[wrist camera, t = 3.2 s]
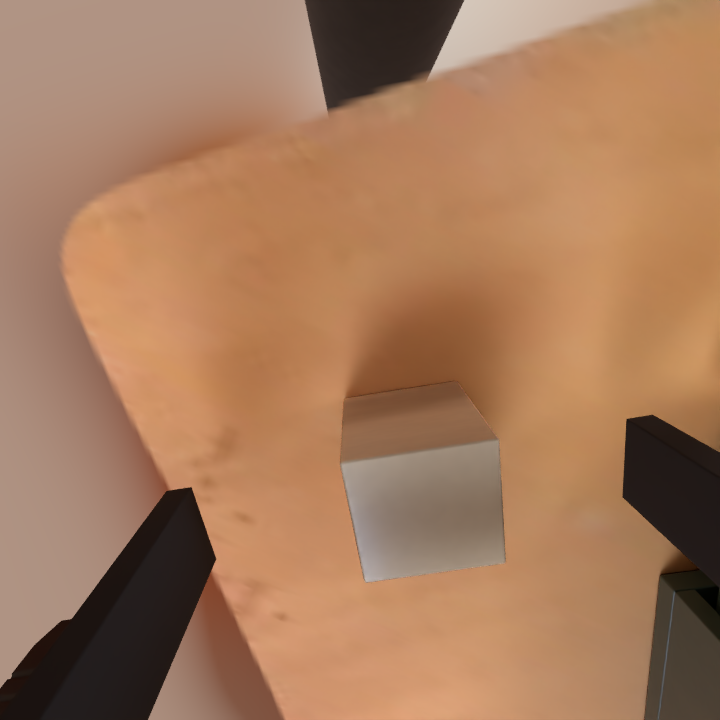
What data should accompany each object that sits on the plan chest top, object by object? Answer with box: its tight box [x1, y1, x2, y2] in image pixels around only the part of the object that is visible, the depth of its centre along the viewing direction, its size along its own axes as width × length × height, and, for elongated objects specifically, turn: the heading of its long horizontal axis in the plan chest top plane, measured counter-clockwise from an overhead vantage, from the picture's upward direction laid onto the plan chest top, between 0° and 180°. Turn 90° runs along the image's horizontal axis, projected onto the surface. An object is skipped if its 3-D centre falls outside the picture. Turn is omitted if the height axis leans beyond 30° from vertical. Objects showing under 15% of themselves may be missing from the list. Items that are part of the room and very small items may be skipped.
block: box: [340, 381, 506, 583], centre depth 12 cm, size 4×4×4 cm
